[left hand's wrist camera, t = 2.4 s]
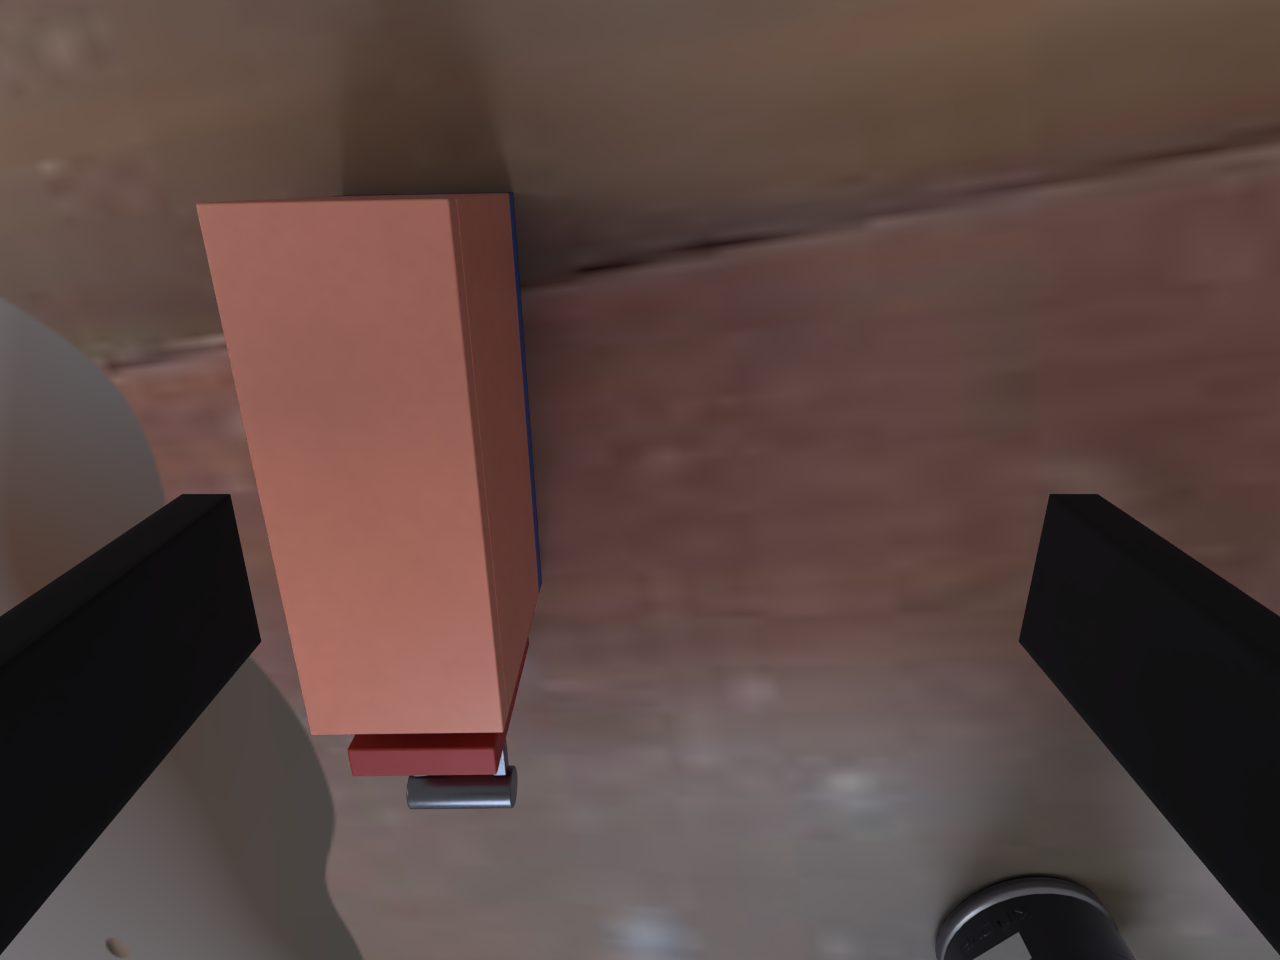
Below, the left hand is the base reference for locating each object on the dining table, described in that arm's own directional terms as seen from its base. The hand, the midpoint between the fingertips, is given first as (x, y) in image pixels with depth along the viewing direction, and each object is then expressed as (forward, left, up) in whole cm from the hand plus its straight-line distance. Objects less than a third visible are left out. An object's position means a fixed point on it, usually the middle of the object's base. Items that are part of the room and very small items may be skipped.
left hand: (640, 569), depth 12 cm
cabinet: (+4, -7, -19) cm, 20 cm away
